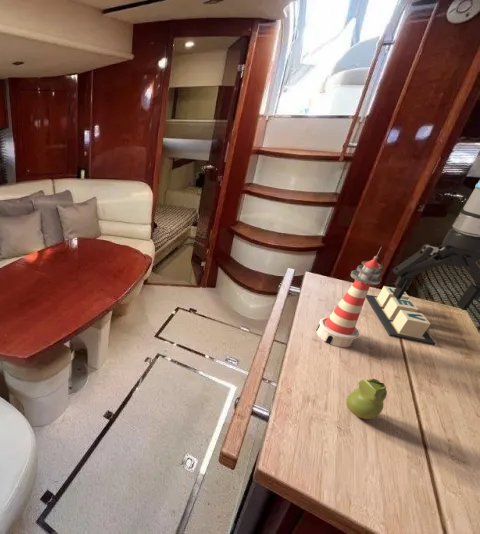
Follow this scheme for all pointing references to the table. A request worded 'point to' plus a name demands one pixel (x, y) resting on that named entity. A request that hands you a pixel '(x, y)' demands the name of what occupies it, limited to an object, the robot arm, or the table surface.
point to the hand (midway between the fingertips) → (427, 301)
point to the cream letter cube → (411, 323)
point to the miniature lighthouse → (350, 307)
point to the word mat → (390, 326)
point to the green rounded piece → (367, 399)
